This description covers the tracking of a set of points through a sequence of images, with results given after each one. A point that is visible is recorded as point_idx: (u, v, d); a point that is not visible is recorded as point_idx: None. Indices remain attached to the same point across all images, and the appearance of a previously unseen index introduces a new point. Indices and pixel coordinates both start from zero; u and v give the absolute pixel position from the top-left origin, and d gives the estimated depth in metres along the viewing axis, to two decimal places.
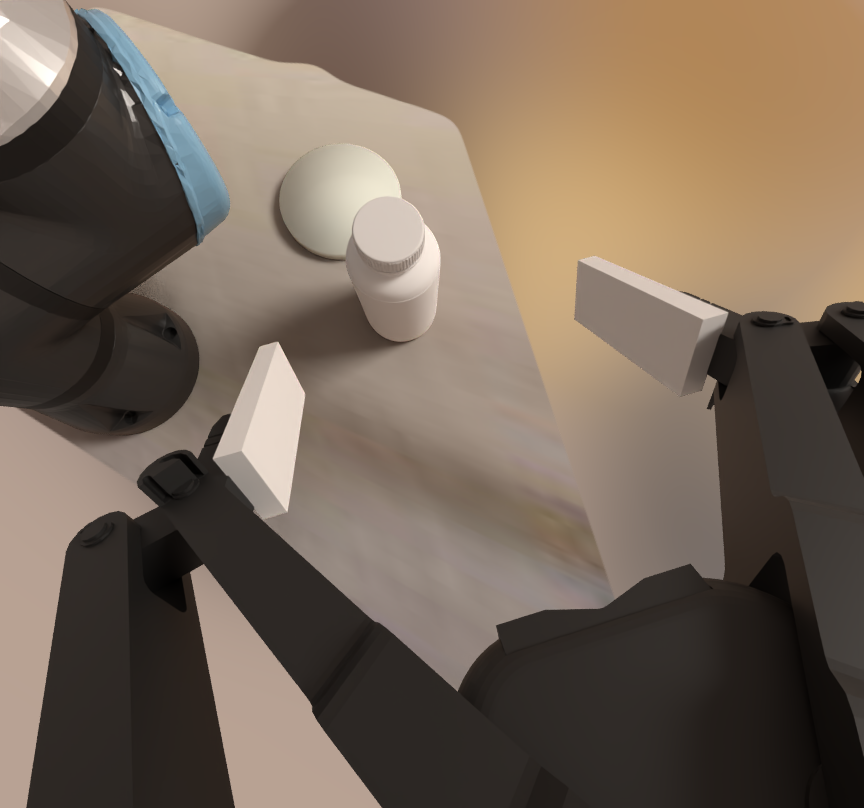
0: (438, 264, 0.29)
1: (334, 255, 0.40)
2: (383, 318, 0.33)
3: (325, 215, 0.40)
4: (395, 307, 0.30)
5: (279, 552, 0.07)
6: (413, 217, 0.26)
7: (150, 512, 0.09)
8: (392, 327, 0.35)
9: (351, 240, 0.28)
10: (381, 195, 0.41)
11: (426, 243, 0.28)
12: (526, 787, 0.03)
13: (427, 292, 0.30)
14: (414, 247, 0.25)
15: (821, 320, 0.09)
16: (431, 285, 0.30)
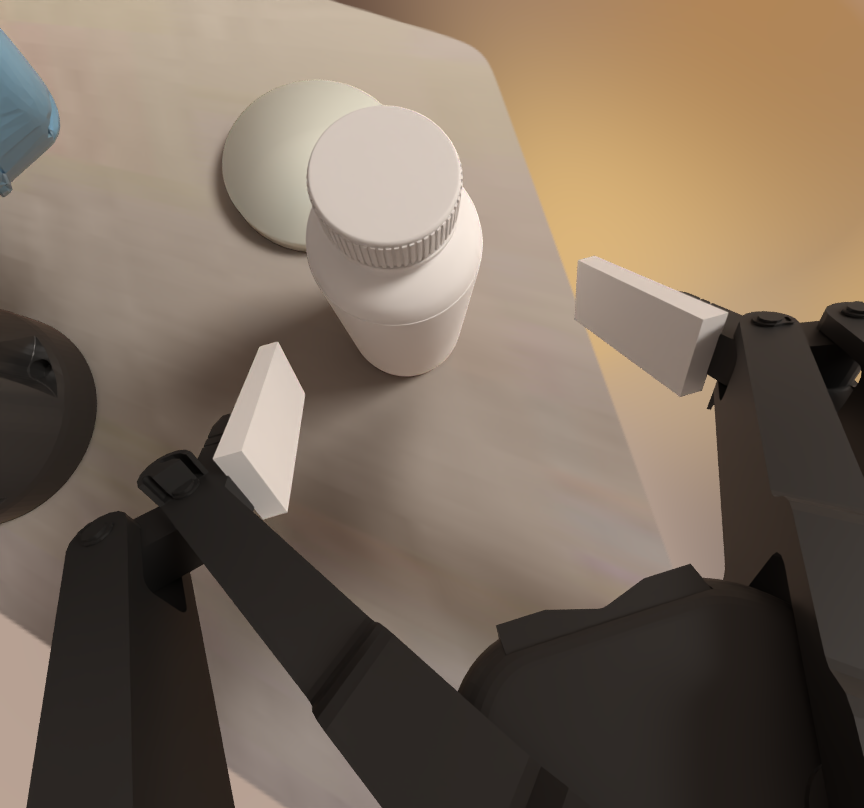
0: (480, 252, 0.15)
1: (305, 245, 0.26)
2: (378, 348, 0.19)
3: (290, 185, 0.27)
4: (399, 333, 0.16)
5: (279, 551, 0.07)
6: (438, 148, 0.12)
7: (150, 512, 0.09)
8: (394, 359, 0.21)
9: None
10: None
11: (459, 211, 0.15)
12: (526, 787, 0.03)
13: (457, 305, 0.16)
14: (441, 212, 0.12)
15: (821, 320, 0.09)
16: (466, 292, 0.16)
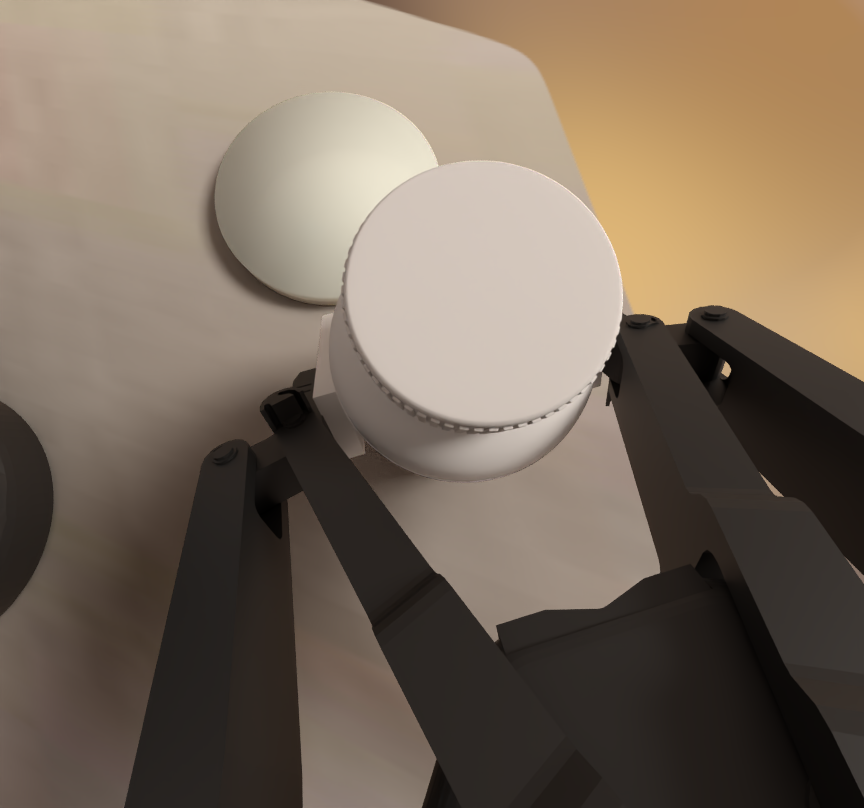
0: None
1: (317, 299, 0.21)
2: None
3: (299, 223, 0.21)
4: None
5: (362, 491, 0.07)
6: (581, 240, 0.07)
7: (259, 443, 0.10)
8: None
9: None
10: None
11: None
12: (526, 787, 0.03)
13: None
14: (592, 362, 0.06)
15: (688, 325, 0.10)
16: None
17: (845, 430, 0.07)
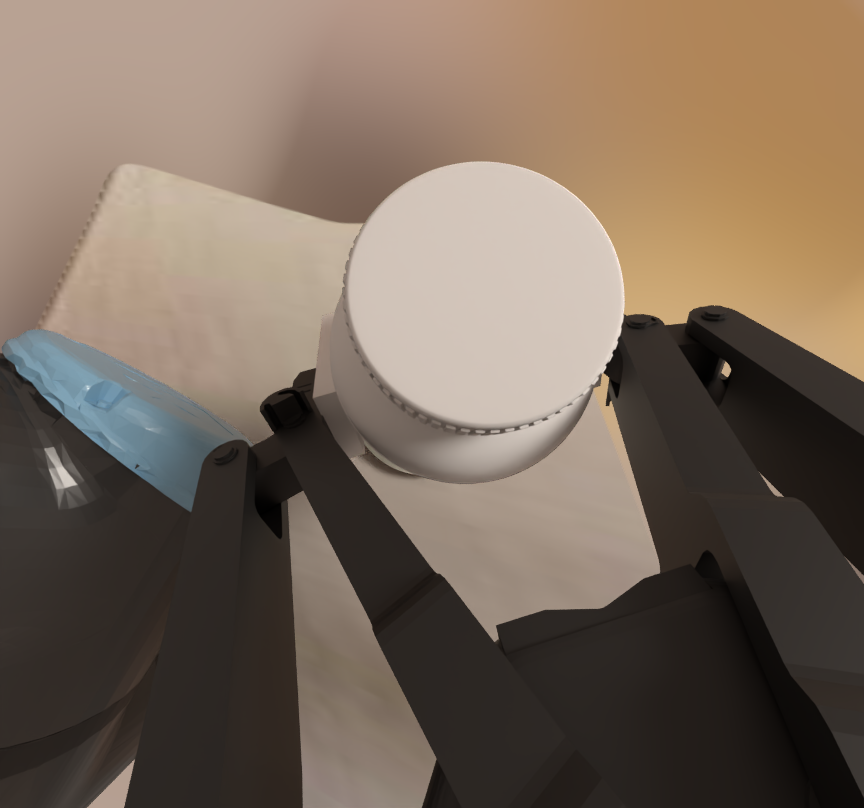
0: None
1: None
2: None
3: None
4: None
5: (362, 491, 0.07)
6: (583, 242, 0.07)
7: (259, 443, 0.10)
8: None
9: None
10: None
11: None
12: (526, 787, 0.03)
13: None
14: (594, 363, 0.06)
15: (687, 325, 0.10)
16: None
17: (845, 430, 0.07)
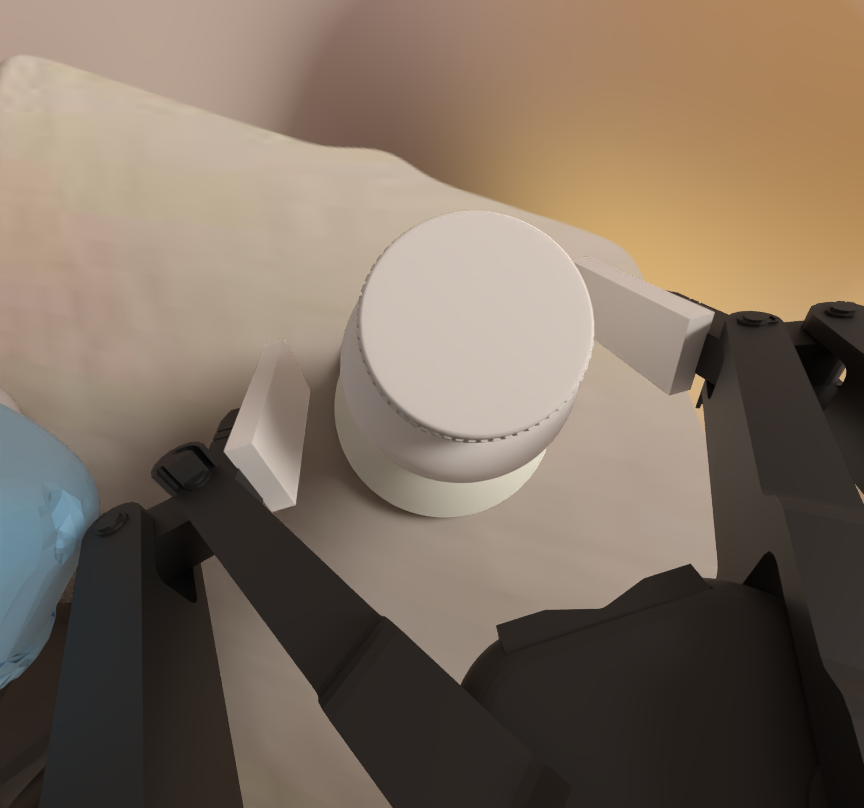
0: None
1: (437, 516, 0.22)
2: None
3: None
4: None
5: (288, 544, 0.07)
6: (559, 280, 0.08)
7: (162, 503, 0.09)
8: None
9: (354, 325, 0.11)
10: None
11: None
12: (526, 787, 0.03)
13: None
14: (567, 384, 0.08)
15: (806, 320, 0.09)
16: None
17: None
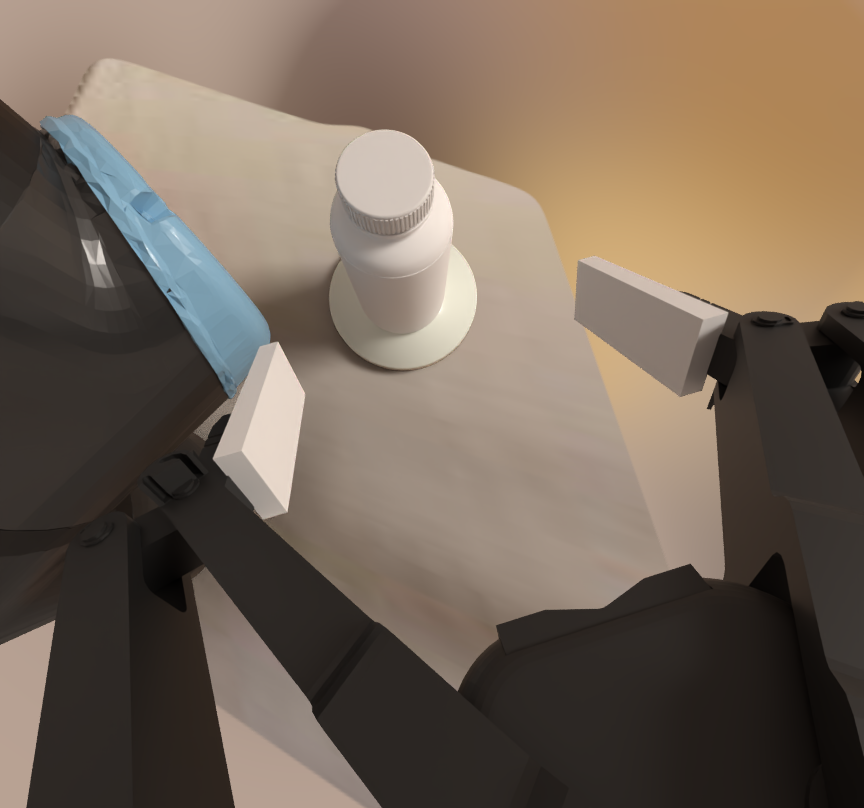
0: (451, 228, 0.22)
1: (397, 368, 0.33)
2: (379, 302, 0.26)
3: None
4: (394, 285, 0.23)
5: (279, 551, 0.07)
6: (419, 157, 0.19)
7: (150, 512, 0.09)
8: (391, 314, 0.28)
9: (337, 196, 0.22)
10: (453, 292, 0.34)
11: (435, 199, 0.21)
12: (526, 787, 0.03)
13: (435, 266, 0.23)
14: (420, 197, 0.18)
15: (821, 320, 0.09)
16: (441, 256, 0.23)
17: None
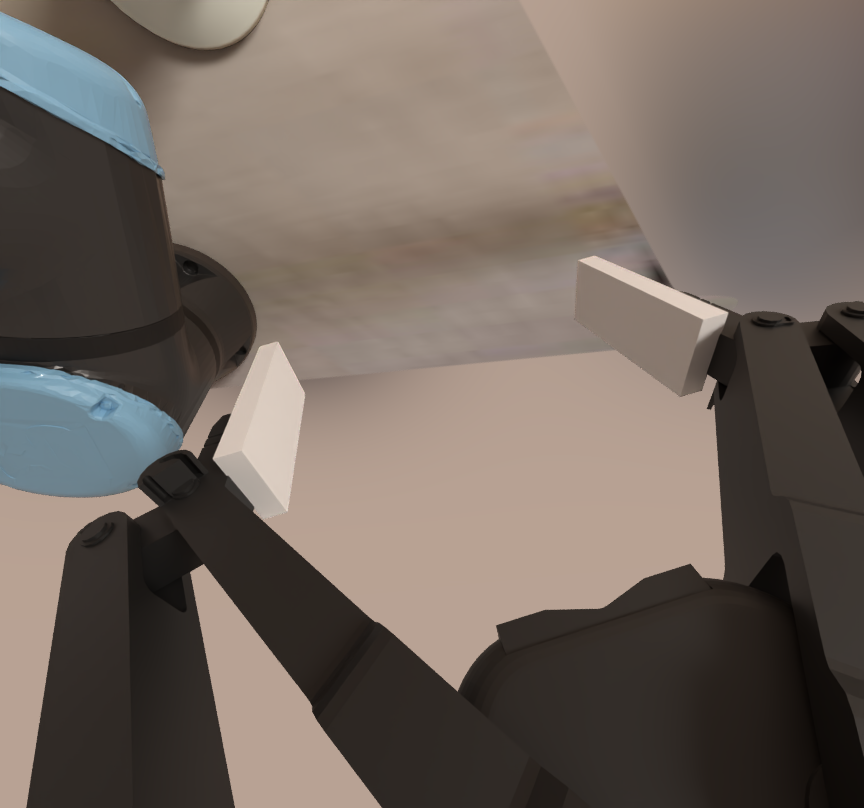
0: None
1: (239, 36, 0.28)
2: None
3: None
4: None
5: (279, 551, 0.07)
6: None
7: (150, 512, 0.09)
8: None
9: None
10: None
11: None
12: (526, 787, 0.03)
13: None
14: None
15: (821, 320, 0.09)
16: None
17: None
